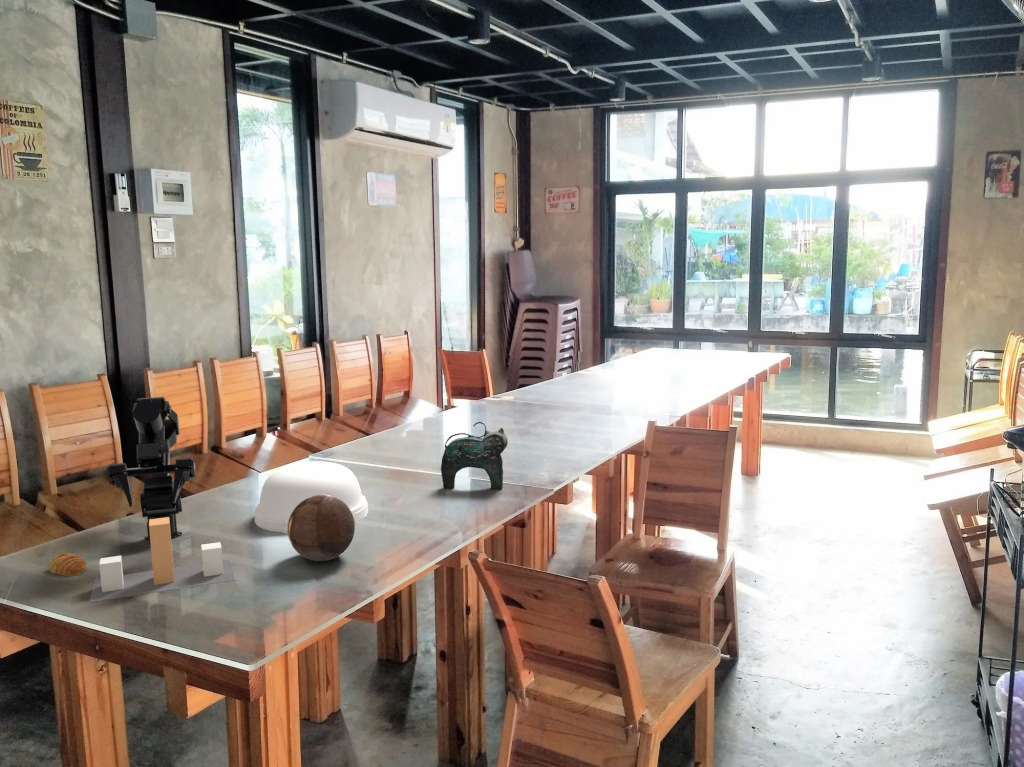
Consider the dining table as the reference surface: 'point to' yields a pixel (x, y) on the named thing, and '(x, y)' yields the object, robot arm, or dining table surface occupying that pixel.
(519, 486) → the dining table surface
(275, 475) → the dome cover
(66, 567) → the pastry
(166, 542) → the tan wooden plank
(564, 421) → the dining table surface
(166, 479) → the robot arm
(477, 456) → the ceramic cat
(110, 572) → the white paddle
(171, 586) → the charcoal mat
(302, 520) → the wooden sphere
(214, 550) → the white paddle
